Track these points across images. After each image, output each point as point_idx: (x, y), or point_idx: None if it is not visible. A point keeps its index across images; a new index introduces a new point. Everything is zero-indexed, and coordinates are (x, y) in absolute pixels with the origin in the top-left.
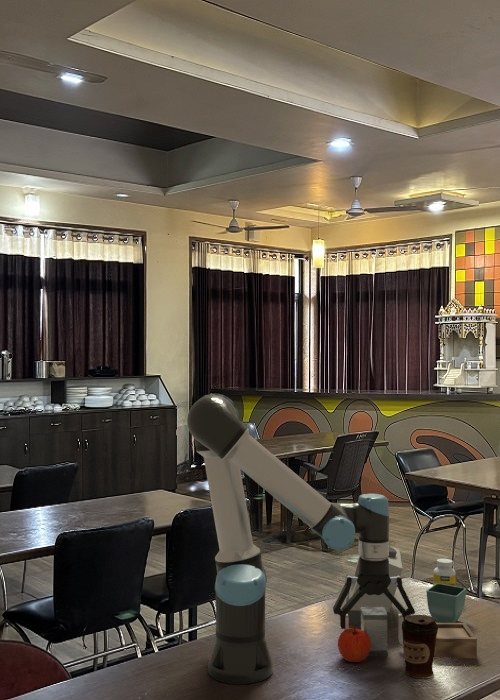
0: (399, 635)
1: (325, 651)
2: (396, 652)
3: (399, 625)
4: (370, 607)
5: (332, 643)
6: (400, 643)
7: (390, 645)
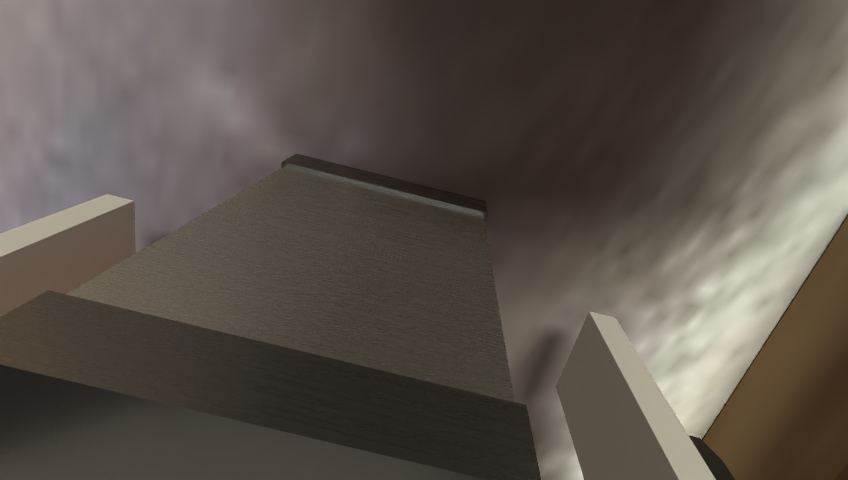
0: (585, 389)
1: (16, 196)
2: (520, 326)
3: (619, 474)
4: (190, 442)
5: (68, 43)
6: (557, 388)
7: (542, 198)
